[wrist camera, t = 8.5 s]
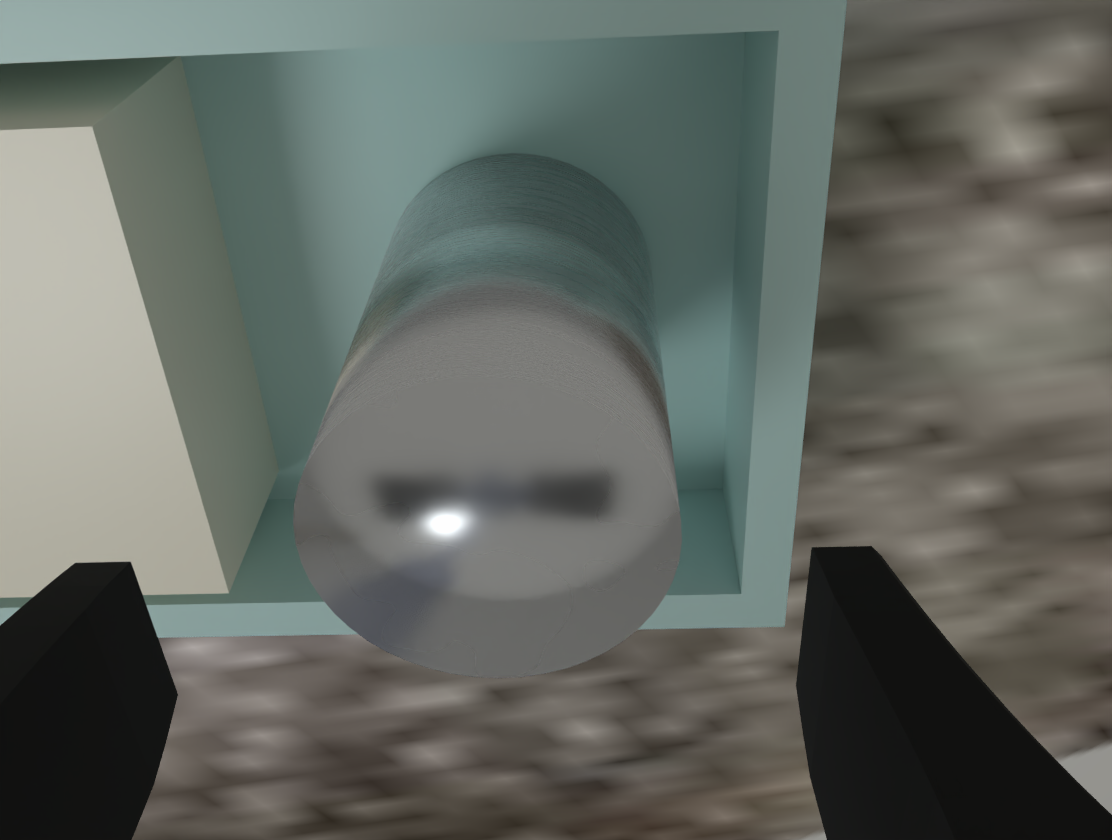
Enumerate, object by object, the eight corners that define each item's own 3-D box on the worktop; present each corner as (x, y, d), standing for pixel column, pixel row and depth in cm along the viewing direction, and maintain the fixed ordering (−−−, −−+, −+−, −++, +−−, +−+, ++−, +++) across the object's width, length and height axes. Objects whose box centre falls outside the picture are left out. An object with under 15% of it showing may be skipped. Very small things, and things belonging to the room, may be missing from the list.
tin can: (401, 394, 20) (323, 677, 14) (371, 155, 17) (261, 379, 11) (648, 392, 20) (674, 678, 14) (654, 151, 17) (690, 375, 11)
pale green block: (30, 476, 21) (-59, 599, 18) (-133, 67, 17) (-286, 141, 14) (278, 470, 21) (228, 593, 18) (180, 54, 16) (92, 126, 13)
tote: (6, 506, 23) (-95, 641, 19) (-228, -43, 17) (-431, 16, 13) (754, 489, 22) (784, 626, 19) (795, -92, 16) (851, -42, 13)
